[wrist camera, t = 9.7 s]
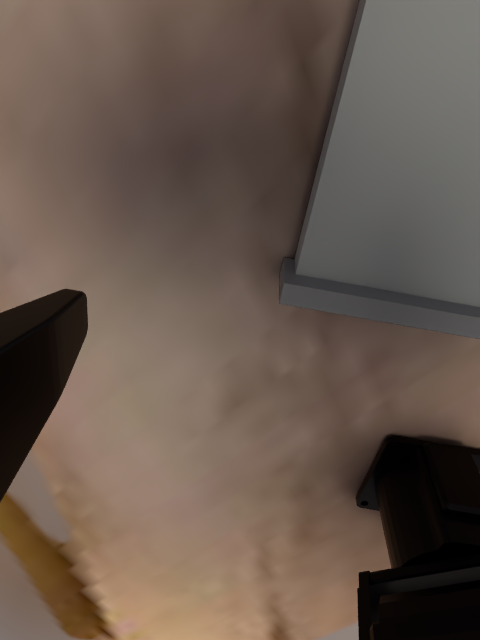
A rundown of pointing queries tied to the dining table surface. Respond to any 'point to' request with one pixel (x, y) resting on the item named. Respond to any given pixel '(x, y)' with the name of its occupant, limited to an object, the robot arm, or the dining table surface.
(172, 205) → the dining table surface
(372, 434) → the dining table surface
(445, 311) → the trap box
